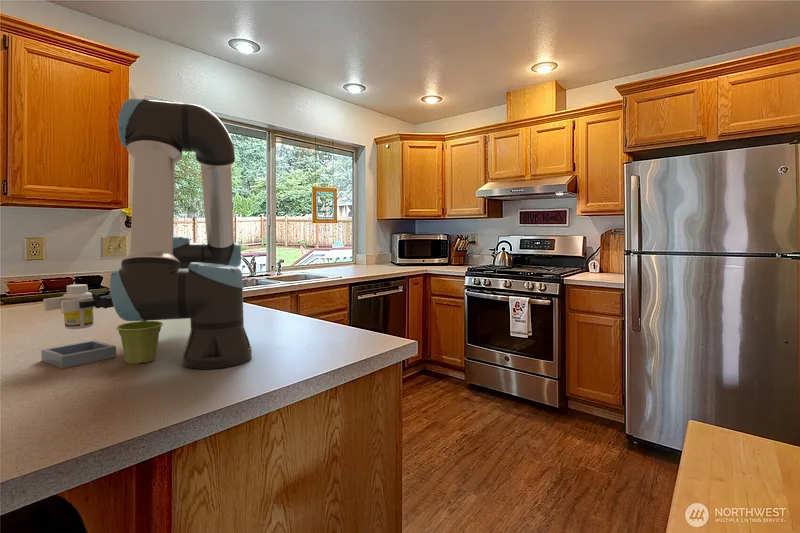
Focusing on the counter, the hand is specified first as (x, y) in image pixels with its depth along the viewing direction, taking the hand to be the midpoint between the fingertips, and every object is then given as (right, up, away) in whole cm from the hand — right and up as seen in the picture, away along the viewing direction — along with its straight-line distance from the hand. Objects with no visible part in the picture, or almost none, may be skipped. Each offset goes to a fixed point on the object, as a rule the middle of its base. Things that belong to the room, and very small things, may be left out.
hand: (53, 306), depth 95 cm
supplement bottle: (+2, -6, +5) cm, 8 cm away
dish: (+2, -13, +5) cm, 14 cm away
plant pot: (+18, -14, +4) cm, 23 cm away
